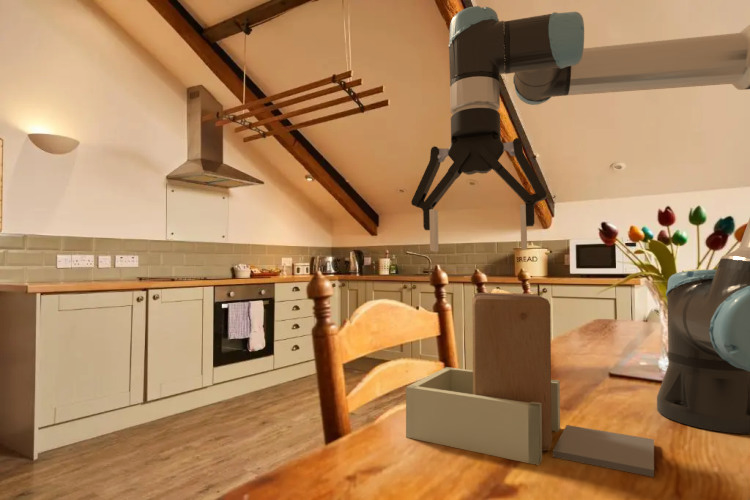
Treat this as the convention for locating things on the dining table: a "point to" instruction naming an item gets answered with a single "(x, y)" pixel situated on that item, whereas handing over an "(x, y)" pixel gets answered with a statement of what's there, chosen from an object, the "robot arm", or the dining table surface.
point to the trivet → (606, 450)
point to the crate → (476, 417)
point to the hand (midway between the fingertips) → (477, 250)
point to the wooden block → (513, 351)
